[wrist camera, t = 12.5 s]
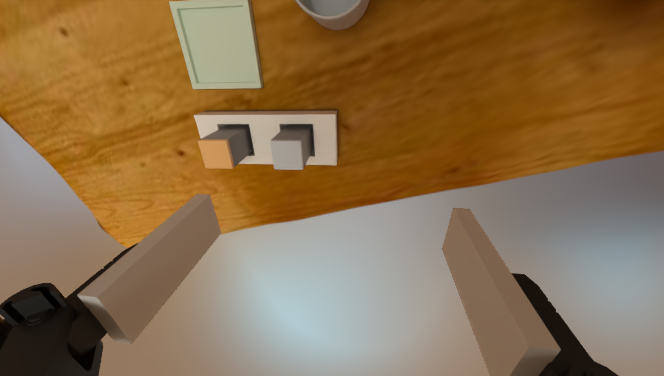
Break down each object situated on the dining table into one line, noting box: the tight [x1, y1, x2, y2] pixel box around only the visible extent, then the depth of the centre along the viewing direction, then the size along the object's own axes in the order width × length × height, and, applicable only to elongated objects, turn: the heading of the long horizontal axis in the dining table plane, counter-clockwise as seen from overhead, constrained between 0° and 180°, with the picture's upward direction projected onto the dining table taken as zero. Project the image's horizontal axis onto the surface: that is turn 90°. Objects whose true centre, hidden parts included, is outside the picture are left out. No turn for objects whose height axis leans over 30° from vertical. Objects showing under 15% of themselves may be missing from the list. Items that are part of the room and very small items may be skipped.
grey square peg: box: [270, 124, 314, 170], centre depth 36 cm, size 4×4×9 cm
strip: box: [194, 110, 338, 165], centre depth 40 cm, size 8×22×4 cm, turn 91°
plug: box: [198, 124, 254, 169], centre depth 37 cm, size 4×4×9 cm
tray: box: [169, 0, 264, 89], centre depth 35 cm, size 11×11×1 cm
